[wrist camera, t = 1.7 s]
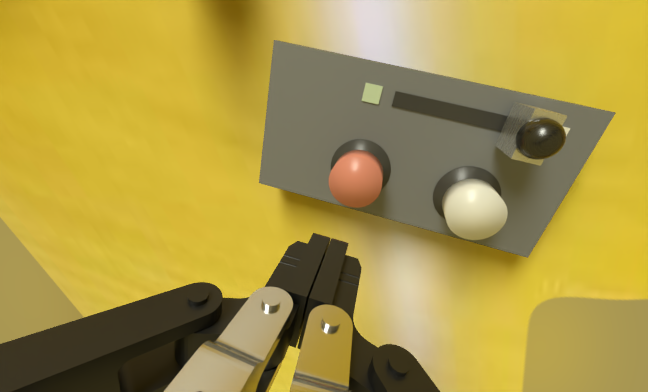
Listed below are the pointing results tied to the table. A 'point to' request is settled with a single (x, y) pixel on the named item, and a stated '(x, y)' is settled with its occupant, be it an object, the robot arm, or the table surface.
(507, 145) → the lever
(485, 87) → the panel
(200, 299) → the robot arm
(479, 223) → the white button
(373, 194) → the red button
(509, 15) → the table surface
